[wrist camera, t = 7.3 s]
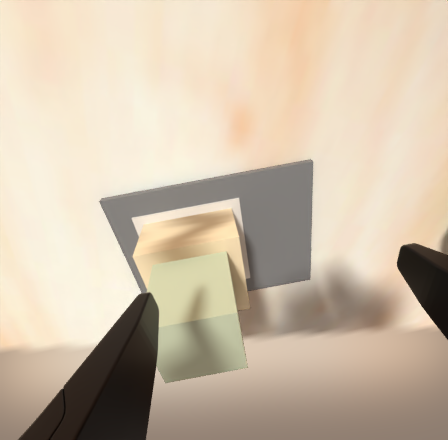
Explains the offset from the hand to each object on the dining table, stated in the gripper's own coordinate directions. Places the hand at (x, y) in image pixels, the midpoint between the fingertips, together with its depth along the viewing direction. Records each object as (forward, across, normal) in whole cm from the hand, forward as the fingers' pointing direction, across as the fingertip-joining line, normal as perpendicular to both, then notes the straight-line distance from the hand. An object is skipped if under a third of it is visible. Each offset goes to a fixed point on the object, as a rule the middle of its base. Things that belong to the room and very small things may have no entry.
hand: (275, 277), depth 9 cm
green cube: (+7, +4, +6) cm, 10 cm away
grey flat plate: (+11, +2, +6) cm, 13 cm away
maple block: (+11, +4, +6) cm, 13 cm away
